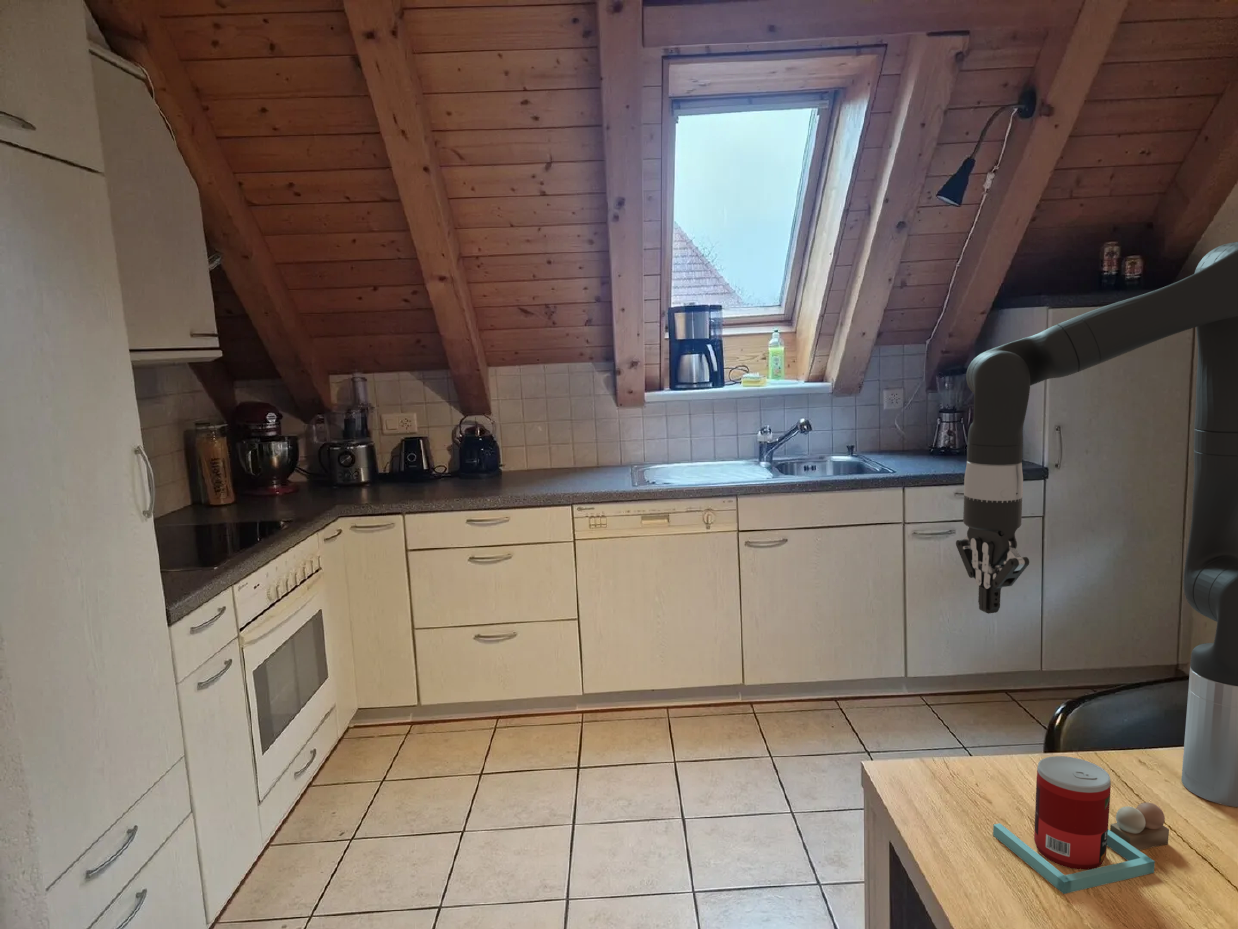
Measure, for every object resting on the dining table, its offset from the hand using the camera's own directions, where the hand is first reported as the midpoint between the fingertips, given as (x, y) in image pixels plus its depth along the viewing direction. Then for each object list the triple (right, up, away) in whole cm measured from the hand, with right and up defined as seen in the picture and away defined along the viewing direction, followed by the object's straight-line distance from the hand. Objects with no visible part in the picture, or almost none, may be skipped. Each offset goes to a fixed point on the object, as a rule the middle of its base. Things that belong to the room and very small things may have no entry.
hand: (988, 611), depth 119 cm
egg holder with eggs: (+13, -27, -14) cm, 33 cm away
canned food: (+3, -28, -15) cm, 32 cm away
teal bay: (+3, -28, -15) cm, 32 cm away
